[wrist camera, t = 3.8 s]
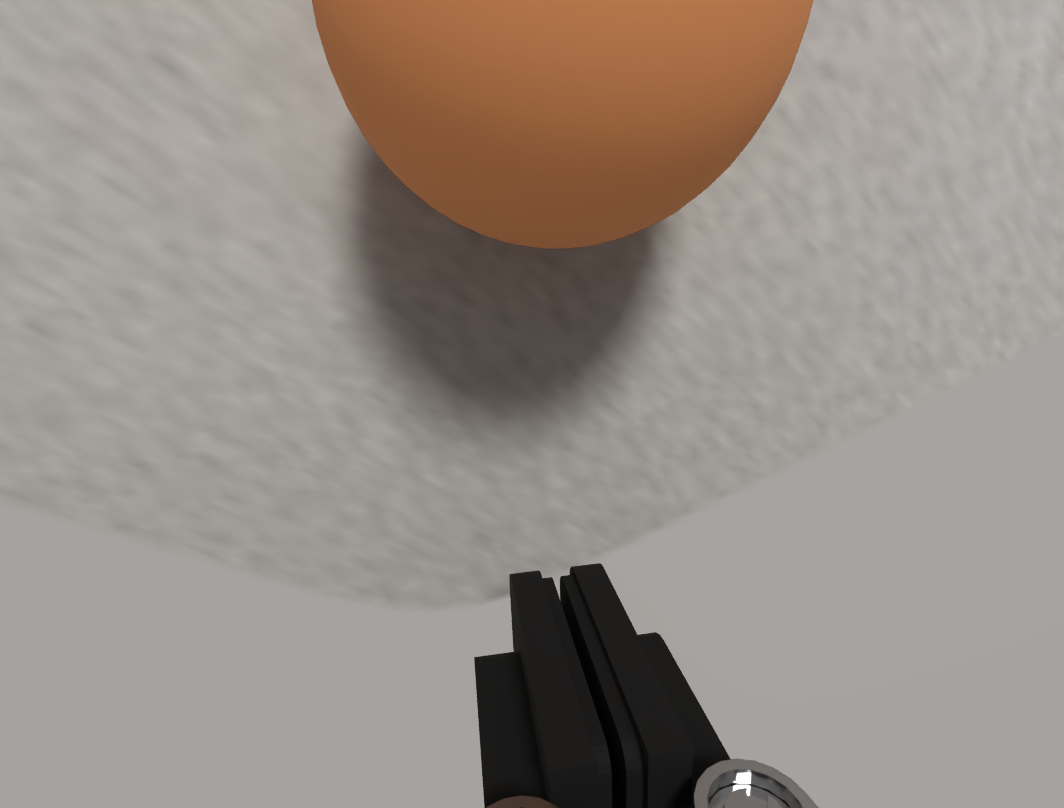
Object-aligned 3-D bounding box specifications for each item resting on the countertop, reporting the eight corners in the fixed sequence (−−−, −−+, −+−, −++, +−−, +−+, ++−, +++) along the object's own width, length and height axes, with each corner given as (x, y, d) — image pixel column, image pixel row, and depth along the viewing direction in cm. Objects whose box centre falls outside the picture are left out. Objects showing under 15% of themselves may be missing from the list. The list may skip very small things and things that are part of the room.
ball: (692, -121, 9) (1059, -680, 4) (682, 243, 10) (926, 234, 5) (331, -137, 8) (112, -862, 3) (375, 255, 10) (284, 261, 4)
